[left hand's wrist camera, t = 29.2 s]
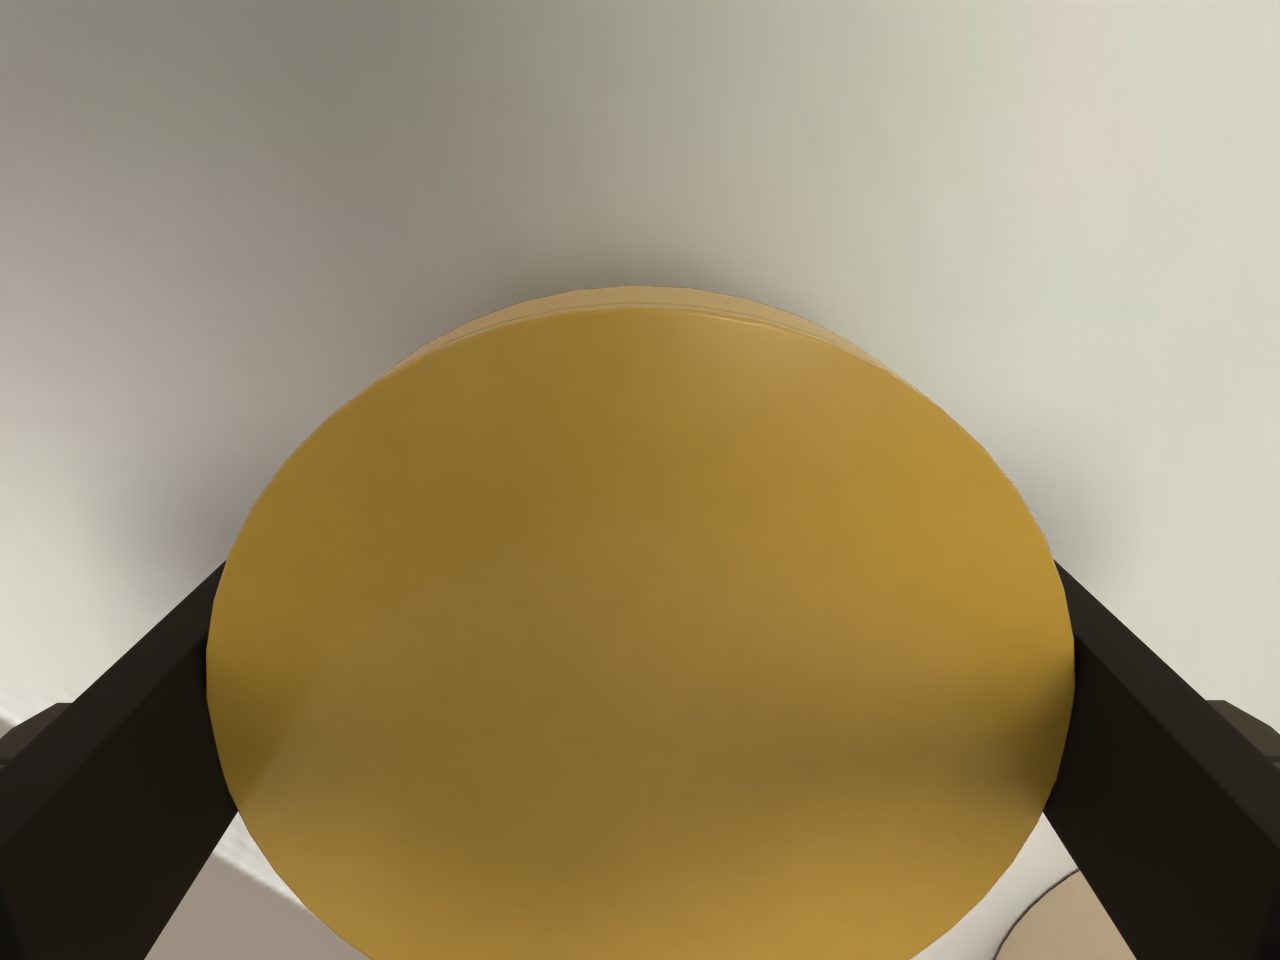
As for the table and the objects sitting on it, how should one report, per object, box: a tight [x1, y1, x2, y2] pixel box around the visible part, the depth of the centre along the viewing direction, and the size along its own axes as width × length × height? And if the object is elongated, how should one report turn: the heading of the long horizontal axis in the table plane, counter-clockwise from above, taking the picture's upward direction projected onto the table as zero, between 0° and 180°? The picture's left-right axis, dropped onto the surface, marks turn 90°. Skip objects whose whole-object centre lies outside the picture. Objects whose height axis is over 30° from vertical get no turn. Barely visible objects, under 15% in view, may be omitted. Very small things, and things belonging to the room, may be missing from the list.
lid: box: [206, 285, 1075, 960], centre depth 11 cm, size 11×11×2 cm
